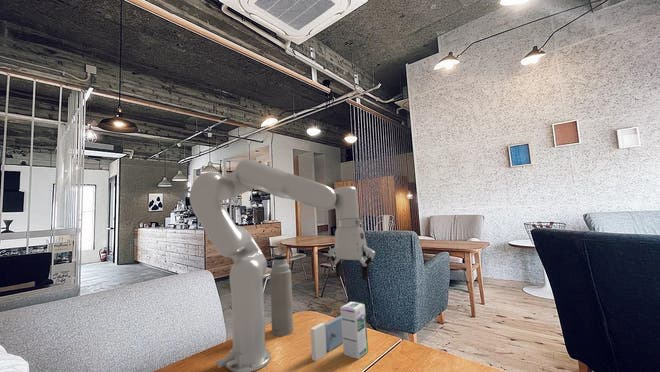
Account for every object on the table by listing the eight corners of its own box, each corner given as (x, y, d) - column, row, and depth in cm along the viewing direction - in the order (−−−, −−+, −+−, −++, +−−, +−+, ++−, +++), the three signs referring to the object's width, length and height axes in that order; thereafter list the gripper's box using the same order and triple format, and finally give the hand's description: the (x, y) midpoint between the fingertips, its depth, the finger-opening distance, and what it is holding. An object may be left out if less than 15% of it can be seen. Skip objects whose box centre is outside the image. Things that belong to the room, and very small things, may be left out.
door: (331, 352, 85) (330, 323, 86) (325, 350, 87) (324, 321, 88) (355, 336, 96) (353, 310, 96) (349, 334, 97) (348, 309, 98)
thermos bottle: (267, 333, 102) (265, 257, 105) (282, 325, 109) (280, 254, 112) (282, 338, 98) (279, 258, 101) (297, 329, 104) (294, 255, 107)
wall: (315, 361, 81) (314, 329, 82) (311, 359, 82) (310, 328, 83) (358, 332, 99) (357, 306, 100) (354, 331, 100) (353, 306, 101)
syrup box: (359, 360, 81) (356, 309, 82) (342, 354, 84) (340, 305, 86) (368, 351, 85) (365, 303, 87) (352, 346, 89) (350, 300, 90)
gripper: (377, 222, 88) (382, 276, 86) (333, 224, 98) (337, 273, 96) (366, 224, 82) (371, 282, 80) (320, 226, 92) (324, 278, 90)
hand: (352, 277), depth 88 cm, fingers open, 9 cm apart
